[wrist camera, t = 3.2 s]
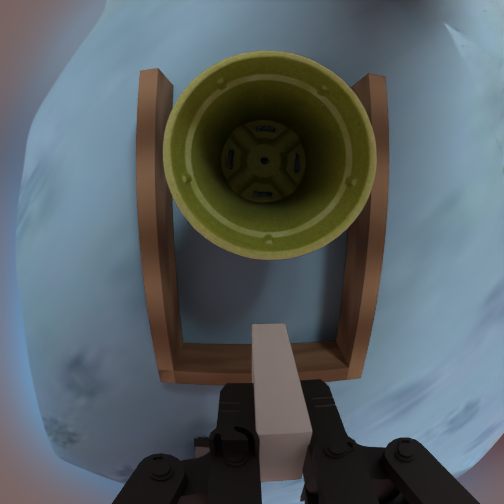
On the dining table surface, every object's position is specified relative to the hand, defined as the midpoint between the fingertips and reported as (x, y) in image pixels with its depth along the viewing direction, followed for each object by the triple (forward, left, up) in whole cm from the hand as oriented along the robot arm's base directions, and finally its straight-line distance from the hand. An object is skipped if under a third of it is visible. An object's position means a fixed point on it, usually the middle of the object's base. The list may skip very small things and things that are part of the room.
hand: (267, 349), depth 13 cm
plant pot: (-9, 0, -10) cm, 13 cm away
